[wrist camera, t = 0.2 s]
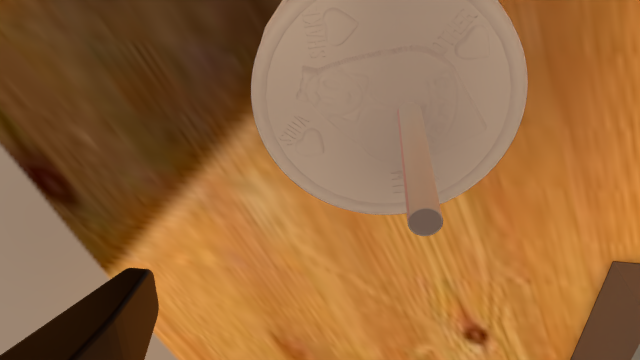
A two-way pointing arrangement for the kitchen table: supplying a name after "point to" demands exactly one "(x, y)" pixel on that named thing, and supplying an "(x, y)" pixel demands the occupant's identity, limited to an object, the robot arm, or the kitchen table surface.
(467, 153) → the smoothie
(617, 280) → the stand
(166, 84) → the kitchen table surface
